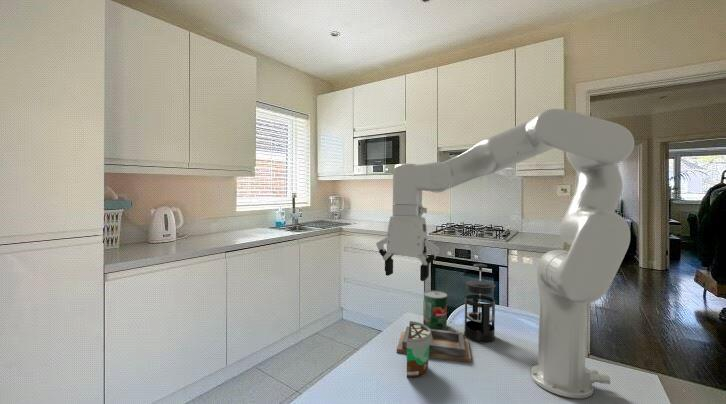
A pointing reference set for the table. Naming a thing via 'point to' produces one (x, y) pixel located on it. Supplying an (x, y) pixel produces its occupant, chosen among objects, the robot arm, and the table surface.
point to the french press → (479, 321)
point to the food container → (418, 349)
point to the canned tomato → (435, 310)
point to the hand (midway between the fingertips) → (406, 277)
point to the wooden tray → (442, 345)
